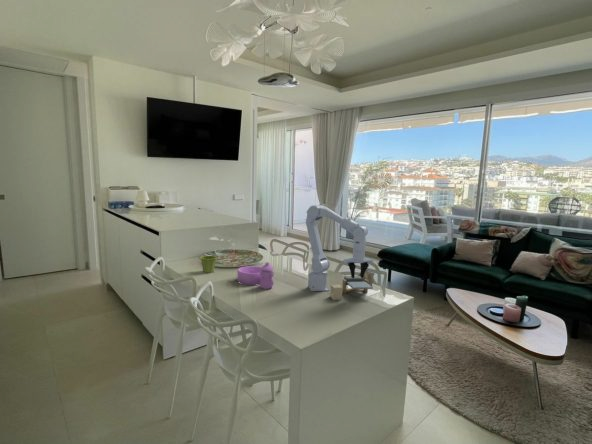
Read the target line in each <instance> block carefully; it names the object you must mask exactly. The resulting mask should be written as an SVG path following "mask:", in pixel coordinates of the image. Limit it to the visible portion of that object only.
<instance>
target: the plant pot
mask: <svg viewBox="0 0 592 444" xmlns="http://www.w3.org/2000/svg"><path fill="white" fill-rule="evenodd" d="M199 258H200V261H201V266H202V271H203V273H207V274H209V273H210V274H211V273H213V272H214V271H215V264H216V260H217V258H218V257H217V256H215V255H201V256H200V257H199Z"/></svg>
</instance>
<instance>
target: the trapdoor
mask: <svg viewBox="0 0 592 444" xmlns="http://www.w3.org/2000/svg"><path fill="white" fill-rule="evenodd" d="M343 280H346V281H347V284H346V286H348V287H350V288H352V289H368V290H373V285H372V286H370V285H369V284H368V283H366V282H356V281H363V278H361V277H360V276H358V275H355V276H354V278H352V277H351V275H344V276H343Z"/></svg>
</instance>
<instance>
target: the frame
mask: <svg viewBox="0 0 592 444" xmlns="http://www.w3.org/2000/svg"><path fill="white" fill-rule="evenodd" d="M356 282H366V283H368V280H367V279H364V281H356ZM346 284H347V281H346V280H344V279H342V285H341V286H342V287H343V290H342V294H347V293H352V292H353V293H354V292H355V293H356V292H357V293H358V292H359V293H361V292H363V293H365V294H367V293H368V291H369V289H352V288H351V287H350V288H347V285H346Z"/></svg>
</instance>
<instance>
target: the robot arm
mask: <svg viewBox="0 0 592 444" xmlns="http://www.w3.org/2000/svg"><path fill="white" fill-rule="evenodd" d="M324 217H325V218H329V219H331V221H334V222H337V223H338V224H339V225H340V228H341V229H343V230H345V231H346V232H348V233H350V234H351V235H352V236H353V245H352V246H353V248H352V257H350V258H343V264H344V265H345V264H347V266H348V269H349V270H350V276H351V277H352V278H354V276H356V274H355V273H356V264H360V272H361V273H360V272H359V274H360V277H361V278H363V277H364V274H365V271H366V270H368V268H369V267H370V264H374V259H373V258H365V257H366V255H365V254H366V244H367V243H366V241H367V240H366V239H367V236H368V233H369V229H368V228H367V227H366V226H365V225H363V224H360V223H359V222H356V221H354V220H352V218H351V217H342V216H341V215H339V214H338V213H337V212H335V211H333V210H331V208H329V207H327V206H326V205H323V204H318V205H311V206H309V208H308V209H307V210H306V219H305V225H306V226H305V227H306V230H307V233H308V234H307V235H308V238H309V242H310V243H309V244H310V247H311V251H312V258H311V270H312V272H309V273H308V283H307V284H308V285H307V287H308V289H309V290H310V292H322V291H323V292H326V291H327V292H328V291H330V289H329V288H328V287H327V283H328V270H329V268H330V266H331V264H330V261H329V259H328V258H327V255H326V254H325V253H324V251H323V250H324V249H323V246H322V245H323V244H322V242H321V241H322V240H321V236H320V232H319V228H318V223H319V222H320V220H321V219H322V218H324Z"/></svg>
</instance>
